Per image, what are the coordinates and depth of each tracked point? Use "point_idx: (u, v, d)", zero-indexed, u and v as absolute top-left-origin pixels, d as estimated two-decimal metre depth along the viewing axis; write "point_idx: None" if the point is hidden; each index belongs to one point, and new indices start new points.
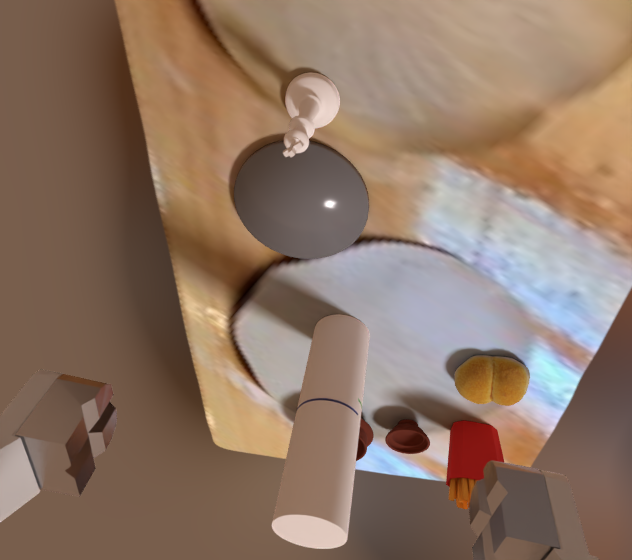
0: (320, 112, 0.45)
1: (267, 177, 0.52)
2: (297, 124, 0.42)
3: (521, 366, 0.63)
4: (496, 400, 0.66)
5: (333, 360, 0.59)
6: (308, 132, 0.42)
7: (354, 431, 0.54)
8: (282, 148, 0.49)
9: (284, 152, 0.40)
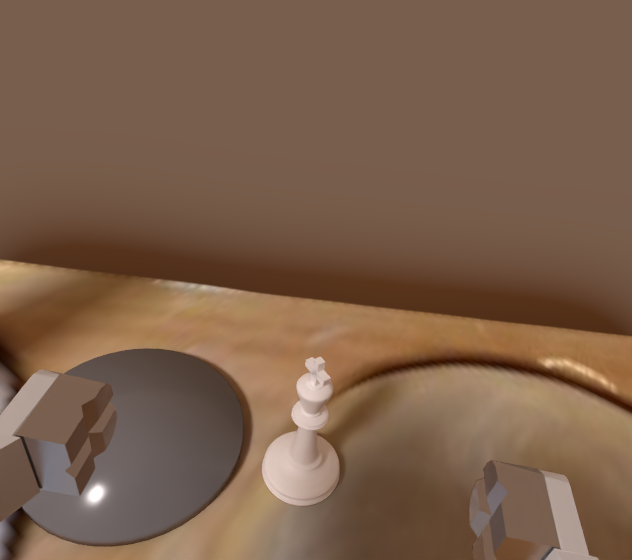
0: (297, 466, 0.31)
1: (191, 392, 0.36)
2: None
3: None
4: None
5: None
6: (307, 418, 0.29)
7: None
8: (236, 418, 0.34)
9: (313, 359, 0.28)
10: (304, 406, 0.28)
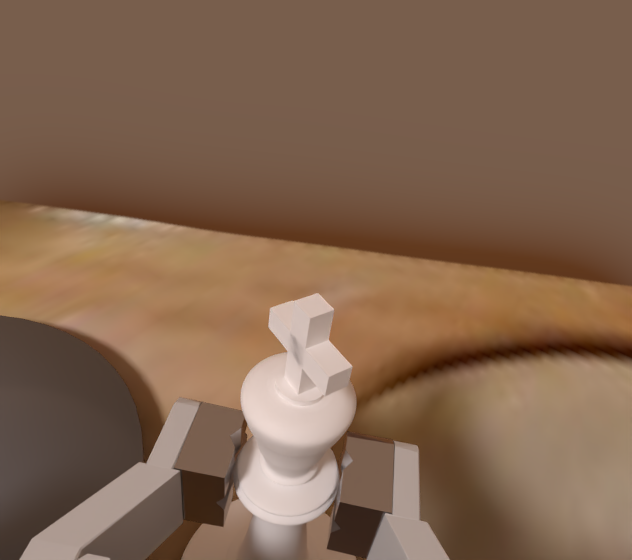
0: None
1: (38, 404, 0.16)
2: None
3: None
4: None
5: None
6: (276, 490, 0.10)
7: None
8: (125, 463, 0.15)
9: None
10: (266, 456, 0.09)
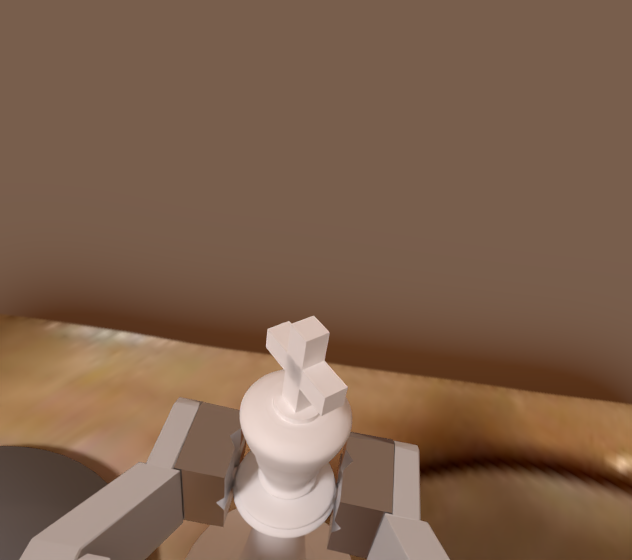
0: None
1: None
2: None
3: None
4: None
5: None
6: (275, 504, 0.10)
7: None
8: None
9: None
10: (265, 471, 0.09)
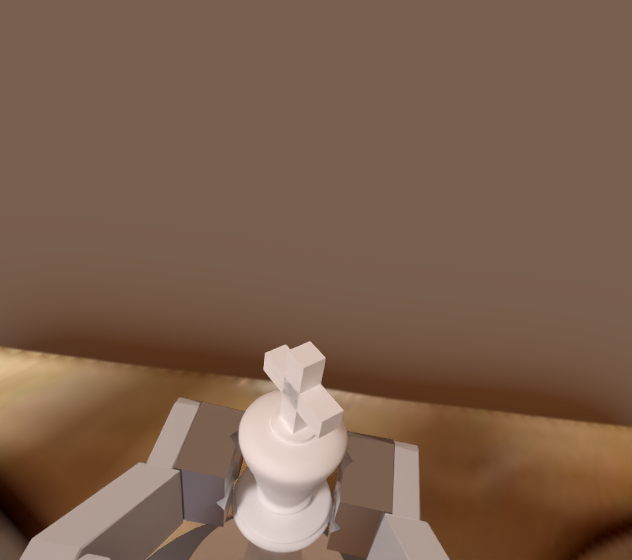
0: None
1: None
2: None
3: None
4: None
5: None
6: (273, 519, 0.10)
7: None
8: None
9: (287, 351, 0.09)
10: (263, 489, 0.10)
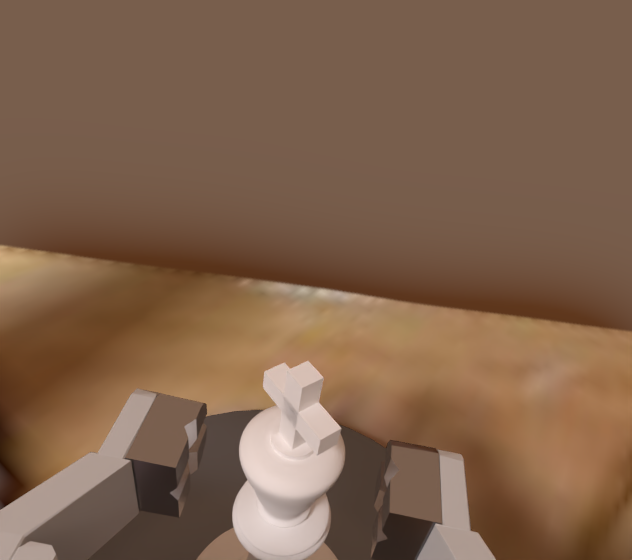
0: None
1: (366, 511, 0.17)
2: None
3: None
4: None
5: None
6: (273, 532, 0.10)
7: None
8: None
9: (286, 370, 0.09)
10: (264, 503, 0.10)
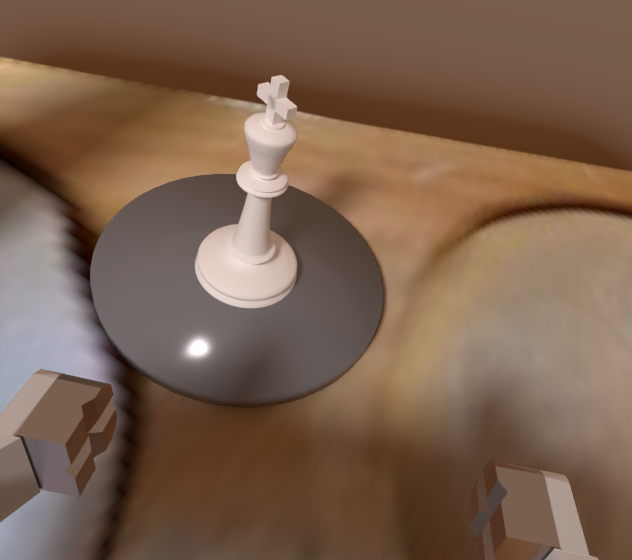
0: (243, 258, 0.23)
1: (304, 228, 0.28)
2: None
3: None
4: None
5: None
6: (259, 182, 0.20)
7: None
8: (367, 258, 0.28)
9: (269, 85, 0.19)
10: (256, 160, 0.20)
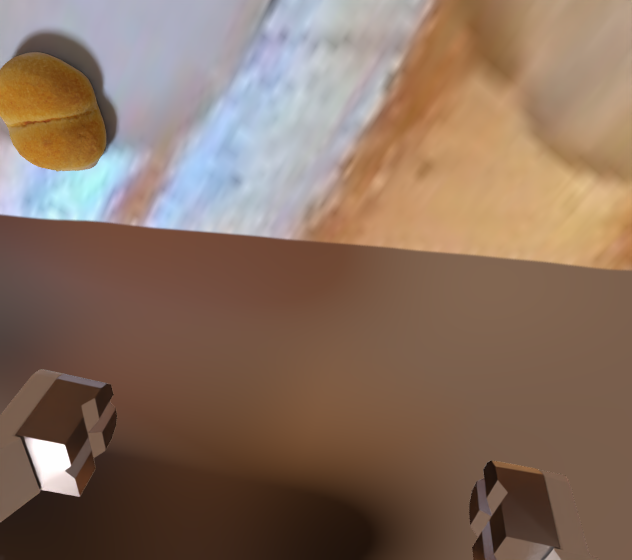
0: None
1: None
2: None
3: (102, 153, 0.42)
4: (23, 132, 0.40)
5: None
6: None
7: None
8: None
9: None
10: None
